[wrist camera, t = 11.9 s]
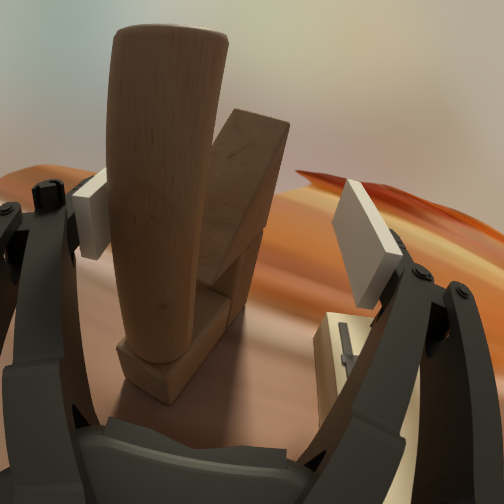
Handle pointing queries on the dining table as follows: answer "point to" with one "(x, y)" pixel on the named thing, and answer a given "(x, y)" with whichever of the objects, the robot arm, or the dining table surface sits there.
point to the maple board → (337, 372)
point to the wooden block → (181, 199)
